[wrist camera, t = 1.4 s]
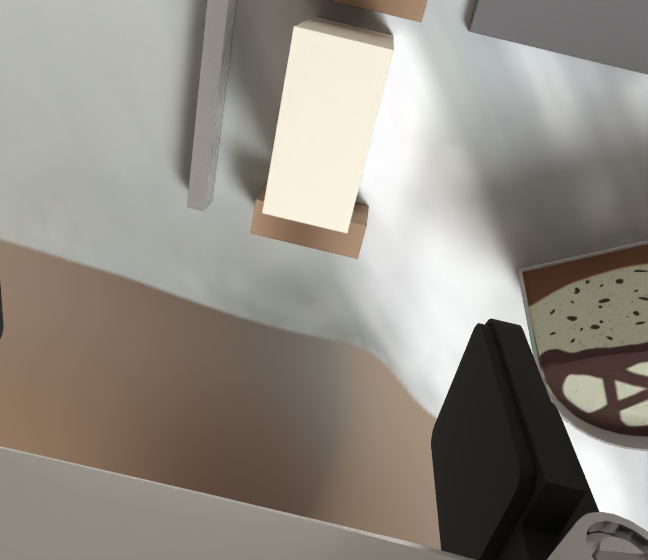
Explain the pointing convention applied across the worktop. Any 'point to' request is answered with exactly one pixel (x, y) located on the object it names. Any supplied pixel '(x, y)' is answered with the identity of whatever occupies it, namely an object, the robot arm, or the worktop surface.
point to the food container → (593, 340)
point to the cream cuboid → (326, 121)
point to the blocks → (211, 95)
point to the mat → (571, 28)
